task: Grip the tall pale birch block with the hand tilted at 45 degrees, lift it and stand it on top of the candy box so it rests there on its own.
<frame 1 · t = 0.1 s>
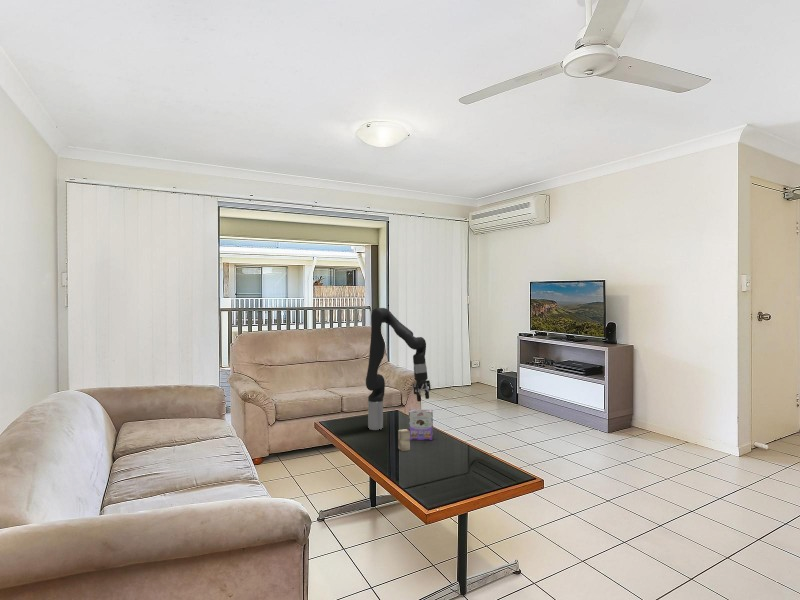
hand: (423, 400, 257), 22 cm above the table, tool pointing down, fingers open, 8 cm apart
birch block: (404, 449, 239), on the table
candy box: (420, 438, 258), on the table
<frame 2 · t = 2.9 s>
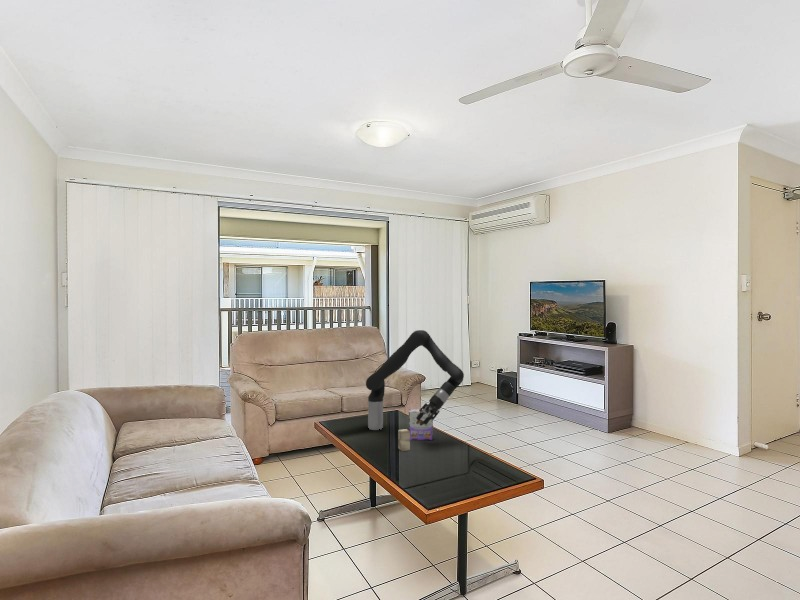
hand: (420, 421, 243), 14 cm above the table, tool tilted 45°, fingers open, 8 cm apart
nothing on the table moved.
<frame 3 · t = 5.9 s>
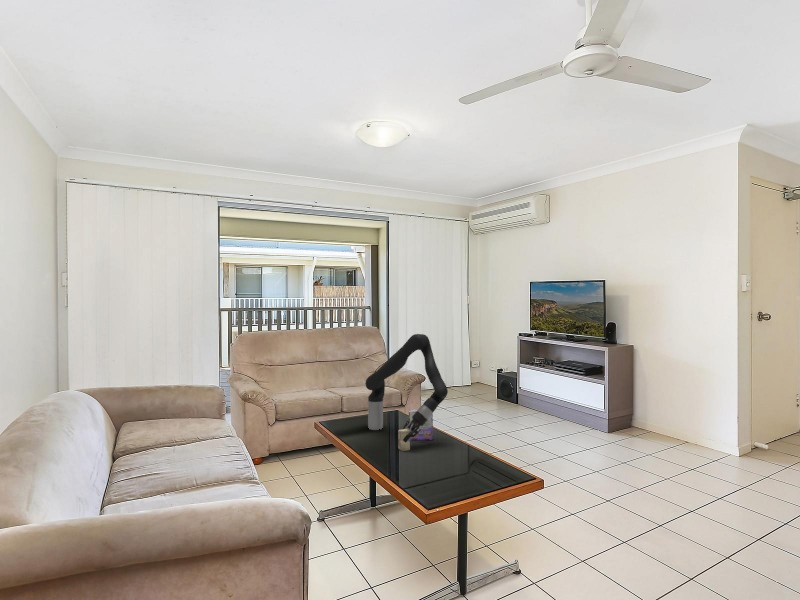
hand: (402, 439, 239), 5 cm above the table, tool tilted 45°, fingers closed on birch block, 4 cm apart
birch block: (404, 449, 239), on the table, touching gripper
everything else where it was.
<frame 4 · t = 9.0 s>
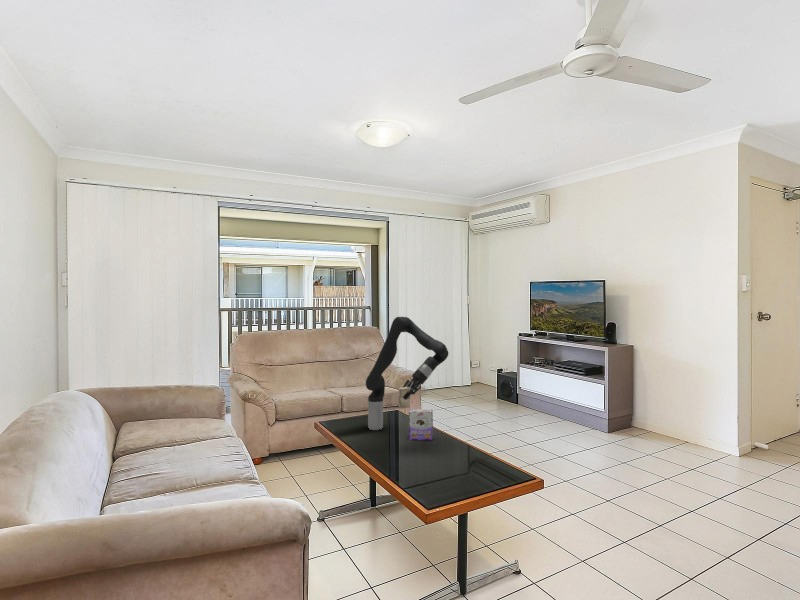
hand: (402, 397, 239), 28 cm above the table, tool tilted 45°, fingers closed on birch block, 4 cm apart
birch block: (404, 407, 239), point 23 cm above the table, touching gripper
everything else where it was.
when the fingers open (23 cm above the table, at t = 12.2 s): birch block stays where it is, resting on candy box.
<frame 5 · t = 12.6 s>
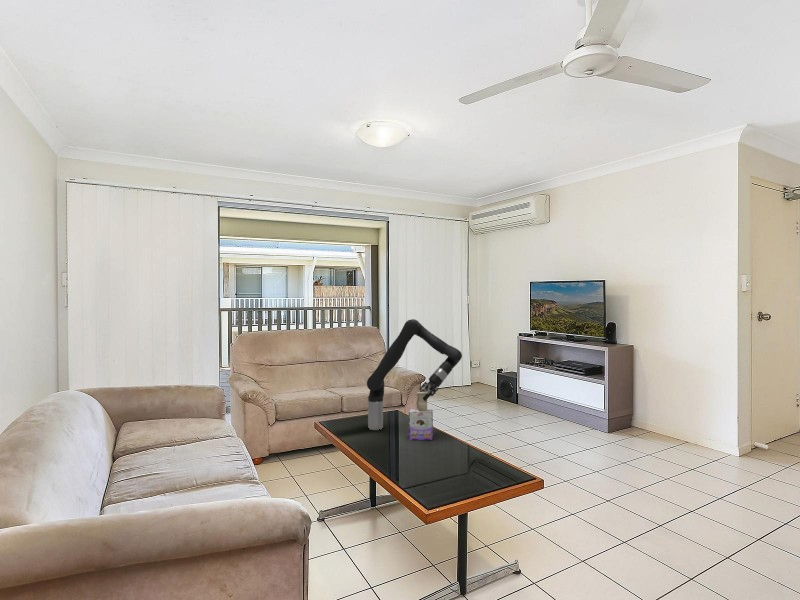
hand: (420, 398, 258), 23 cm above the table, tool tilted 45°, fingers open, 8 cm apart
birch block: (421, 410, 258), point 16 cm above the table, touching candy box
candy box: (420, 439, 258), on the table, touching birch block
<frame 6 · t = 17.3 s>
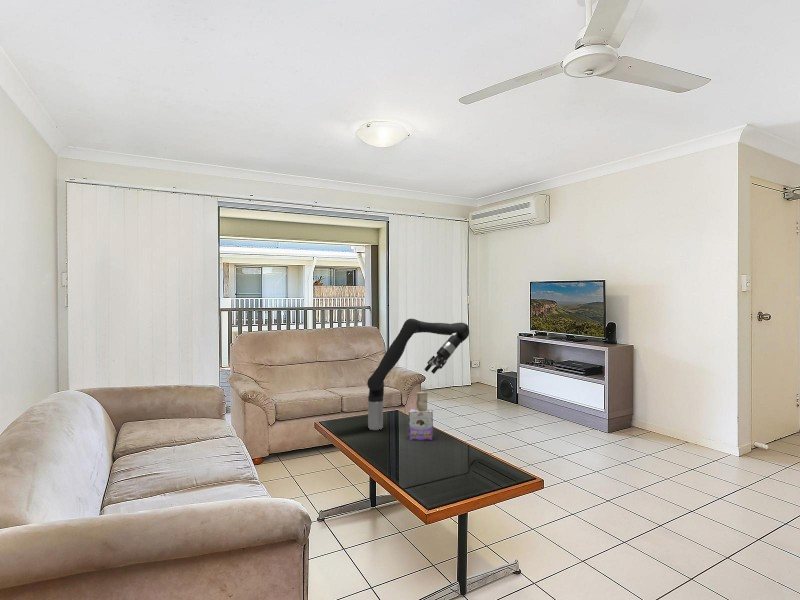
hand: (428, 371, 258), 39 cm above the table, tool tilted 45°, fingers open, 8 cm apart
nothing on the table moved.
at the end: birch block inside the target area on the candy box (0.6 cm from its centre), point 16.7 cm above the candy box's base; birch block tilted 0°; the gripper is holding nothing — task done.
